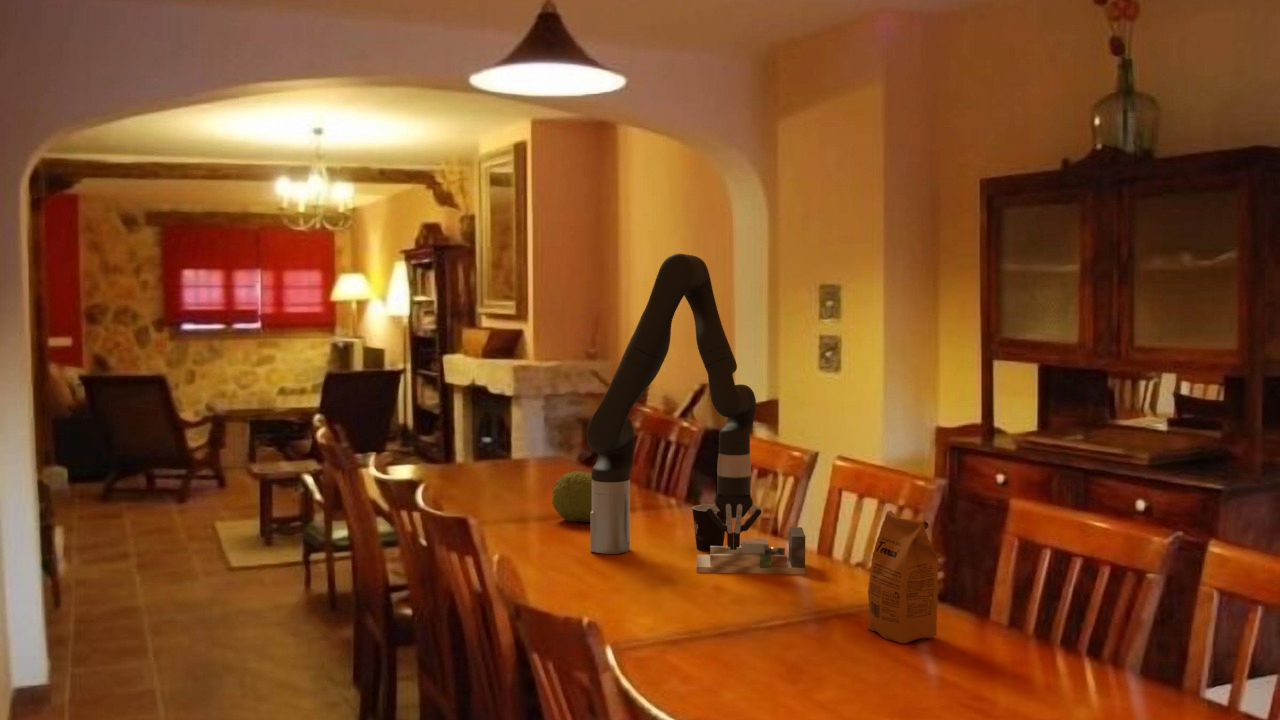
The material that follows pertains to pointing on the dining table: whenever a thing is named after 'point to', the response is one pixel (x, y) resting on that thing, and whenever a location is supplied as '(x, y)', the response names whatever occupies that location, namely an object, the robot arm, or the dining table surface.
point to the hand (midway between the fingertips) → (733, 549)
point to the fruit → (573, 496)
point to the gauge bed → (756, 559)
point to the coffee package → (903, 581)
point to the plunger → (758, 547)
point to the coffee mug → (707, 528)
